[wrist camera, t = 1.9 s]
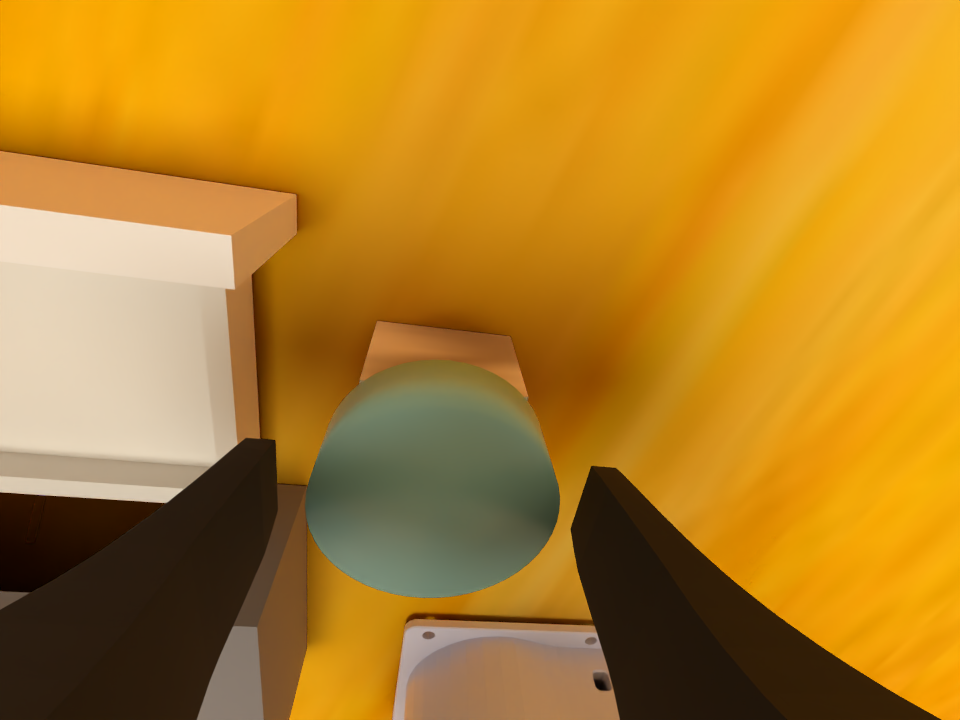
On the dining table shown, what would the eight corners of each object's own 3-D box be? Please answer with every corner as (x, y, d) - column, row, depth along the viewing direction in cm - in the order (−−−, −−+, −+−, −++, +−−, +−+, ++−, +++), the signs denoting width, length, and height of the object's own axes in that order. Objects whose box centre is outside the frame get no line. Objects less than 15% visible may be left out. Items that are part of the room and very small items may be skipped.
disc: (565, 373, 12) (587, 421, 10) (520, 540, 14) (531, 603, 12) (326, 347, 11) (304, 393, 9) (323, 528, 13) (305, 592, 12)
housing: (306, 485, 17) (257, 627, 13) (307, 647, 21) (269, 799, 17) (-88, 457, 16) (-310, 607, 11) (-7, 638, 20) (-145, 803, 15)
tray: (296, 194, 13) (231, 236, 9) (299, 471, 17) (255, 584, 13) (-242, 115, 11) (-617, 122, 7) (-96, 441, 15) (-284, 560, 11)
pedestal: (510, 336, 15) (528, 397, 12) (488, 442, 17) (499, 519, 14) (377, 320, 14) (359, 379, 11) (369, 432, 16) (352, 509, 13)
